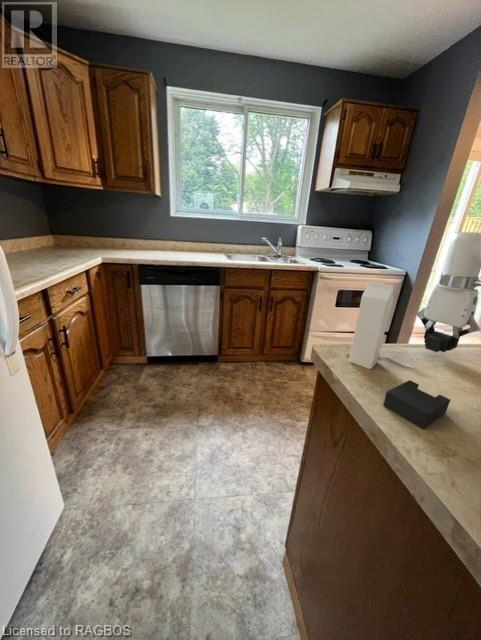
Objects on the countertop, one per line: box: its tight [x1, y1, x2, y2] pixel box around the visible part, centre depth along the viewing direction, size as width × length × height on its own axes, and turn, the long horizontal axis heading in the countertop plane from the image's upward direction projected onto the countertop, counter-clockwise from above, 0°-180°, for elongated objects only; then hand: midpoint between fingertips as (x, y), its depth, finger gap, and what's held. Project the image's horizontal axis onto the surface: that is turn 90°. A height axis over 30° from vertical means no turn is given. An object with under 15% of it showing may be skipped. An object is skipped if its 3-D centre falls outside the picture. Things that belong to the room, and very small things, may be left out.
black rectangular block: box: [424, 330, 452, 353], centre depth 76 cm, size 7×5×4 cm
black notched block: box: [382, 379, 451, 430], centre depth 55 cm, size 9×8×4 cm
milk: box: [348, 281, 394, 370], centre depth 71 cm, size 6×6×22 cm
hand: (438, 344), depth 76 cm, fingers closed on black rectangular block, 5 cm apart
